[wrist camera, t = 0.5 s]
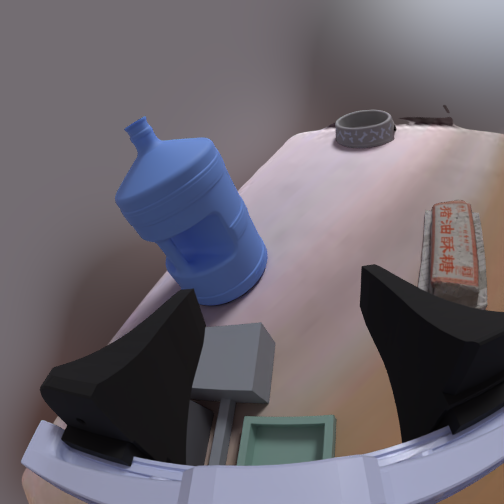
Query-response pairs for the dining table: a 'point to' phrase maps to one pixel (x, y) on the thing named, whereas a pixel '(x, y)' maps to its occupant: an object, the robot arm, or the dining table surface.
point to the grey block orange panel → (197, 433)
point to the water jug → (192, 215)
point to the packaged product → (454, 255)
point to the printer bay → (233, 375)
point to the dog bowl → (365, 129)
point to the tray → (286, 440)
